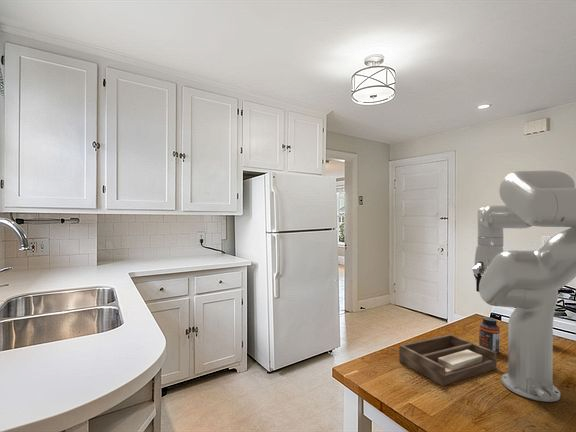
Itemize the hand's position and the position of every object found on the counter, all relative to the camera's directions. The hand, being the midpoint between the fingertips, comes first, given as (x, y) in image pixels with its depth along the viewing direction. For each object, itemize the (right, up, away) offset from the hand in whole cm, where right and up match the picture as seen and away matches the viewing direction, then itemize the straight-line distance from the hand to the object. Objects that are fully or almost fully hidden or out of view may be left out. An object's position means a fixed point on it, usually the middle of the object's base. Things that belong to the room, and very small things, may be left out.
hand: (490, 290), depth 106 cm
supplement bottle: (0, -21, 0) cm, 21 cm away
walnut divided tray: (-21, -21, -10) cm, 31 cm away
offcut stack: (-19, -21, -14) cm, 32 cm away
